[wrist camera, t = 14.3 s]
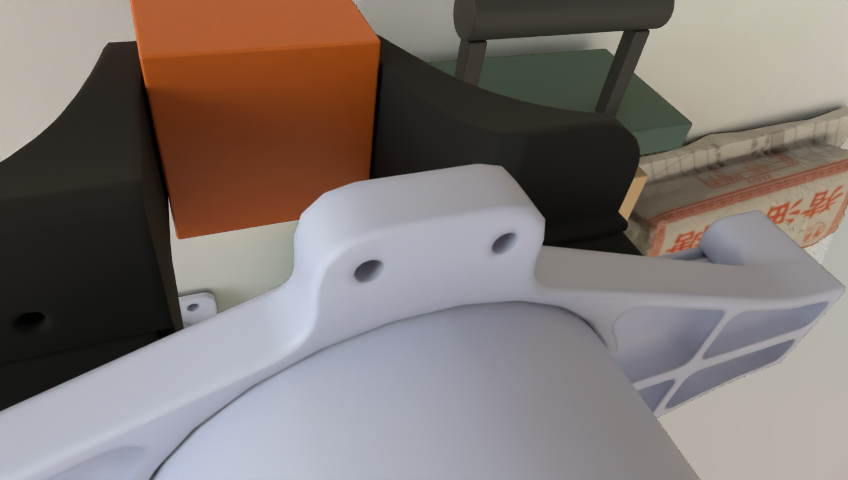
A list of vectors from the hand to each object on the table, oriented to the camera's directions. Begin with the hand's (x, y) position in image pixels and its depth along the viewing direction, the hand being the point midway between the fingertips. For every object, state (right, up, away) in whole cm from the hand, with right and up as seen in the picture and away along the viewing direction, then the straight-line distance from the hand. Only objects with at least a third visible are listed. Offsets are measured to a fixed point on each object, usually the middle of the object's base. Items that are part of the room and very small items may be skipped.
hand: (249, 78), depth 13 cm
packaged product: (+21, 0, +26) cm, 34 cm away
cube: (-1, +1, +1) cm, 1 cm away
